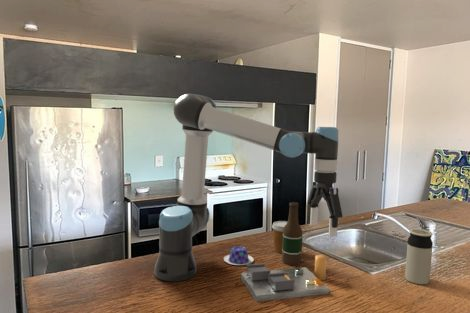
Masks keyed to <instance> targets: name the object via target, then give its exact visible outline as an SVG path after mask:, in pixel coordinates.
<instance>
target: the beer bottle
mask: <svg viewBox="0 0 470 313" xmlns="http://www.w3.org/2000/svg"><path fill="white" fill-rule="evenodd" d="M288 206H289V211H288V219H287V224H286V225H285V227H284V229H283V242H282V253H281V261H282V262H283V264H284V265H288V266H298V265H299V264H301V263H302V256H303V254H302V253H303V250H302V249H303V230H302V227H301V225H300V224H299V206H300V205H299V203H298V202H295V201H292V202H289V205H288Z"/></svg>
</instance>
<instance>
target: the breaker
mask: <svg viewBox="0 0 470 313" xmlns="http://www.w3.org/2000/svg"><path fill="white" fill-rule="evenodd" d="M265 265H266V264H265V263H253V264H252V263H250V264H246V273H247V274H248V275H249V277H250V278H251V280H252V281H253V280H263V279H268V274H270V269H268V268H267V267H266V266H265Z"/></svg>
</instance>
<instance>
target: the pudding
mask: <svg viewBox="0 0 470 313" xmlns="http://www.w3.org/2000/svg"><path fill="white" fill-rule="evenodd" d="M223 261H224V262H226V263H227V264H229V265H234V266H247V265H251V264H252V263H253V262H254V261H255V259H254V257H253V256H251V255H249V254H248V250H247V248H246V247H244V246H241V245H238V246H237V245H236V246H233V247H231V249H230V253H229V254H227V255H225V256H224V257H223Z"/></svg>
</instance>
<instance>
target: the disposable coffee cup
mask: <svg viewBox="0 0 470 313" xmlns="http://www.w3.org/2000/svg"><path fill="white" fill-rule="evenodd" d="M287 222H288V220H287V221H286V220H278V221H274V222H273V223H272V225H271V228H272V234H273V245H274V252H276V253H278V254H282V242H283V229H284V227H285V225H286V224H287Z"/></svg>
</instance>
